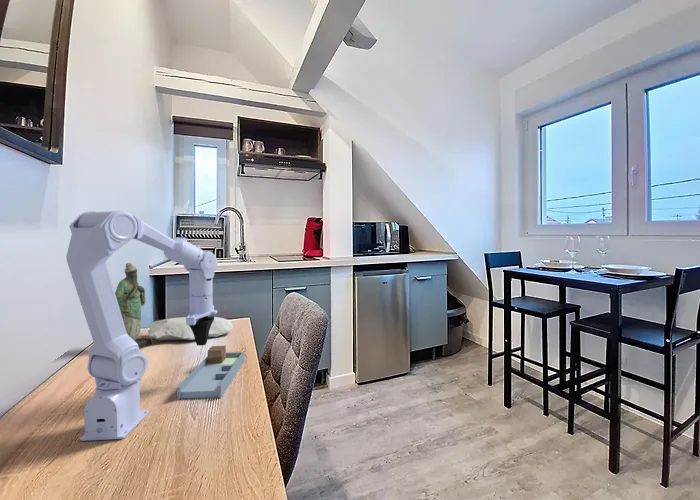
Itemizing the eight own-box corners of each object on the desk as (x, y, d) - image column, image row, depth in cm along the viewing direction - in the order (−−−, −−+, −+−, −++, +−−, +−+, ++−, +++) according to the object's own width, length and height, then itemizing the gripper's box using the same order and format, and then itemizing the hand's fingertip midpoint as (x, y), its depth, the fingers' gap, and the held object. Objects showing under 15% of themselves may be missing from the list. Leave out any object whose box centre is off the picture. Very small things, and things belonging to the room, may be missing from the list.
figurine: (129, 353, 107) (127, 264, 106) (103, 351, 108) (101, 263, 107) (153, 343, 117) (151, 262, 116) (129, 341, 118) (127, 261, 117)
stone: (151, 312, 129) (230, 308, 142) (151, 331, 129) (229, 325, 143) (145, 329, 110) (236, 322, 124) (145, 350, 111) (235, 342, 125)
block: (221, 363, 94) (221, 350, 94) (207, 363, 94) (207, 350, 94) (225, 358, 98) (225, 345, 98) (212, 358, 98) (212, 345, 98)
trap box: (221, 398, 77) (220, 386, 77) (177, 399, 76) (176, 387, 76) (244, 361, 100) (244, 351, 100) (210, 362, 99) (210, 352, 99)
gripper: (206, 299, 79) (207, 353, 79) (224, 290, 93) (224, 336, 94) (177, 299, 78) (177, 354, 79) (199, 290, 93) (200, 336, 93)
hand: (201, 344), depth 86 cm, fingers closed
